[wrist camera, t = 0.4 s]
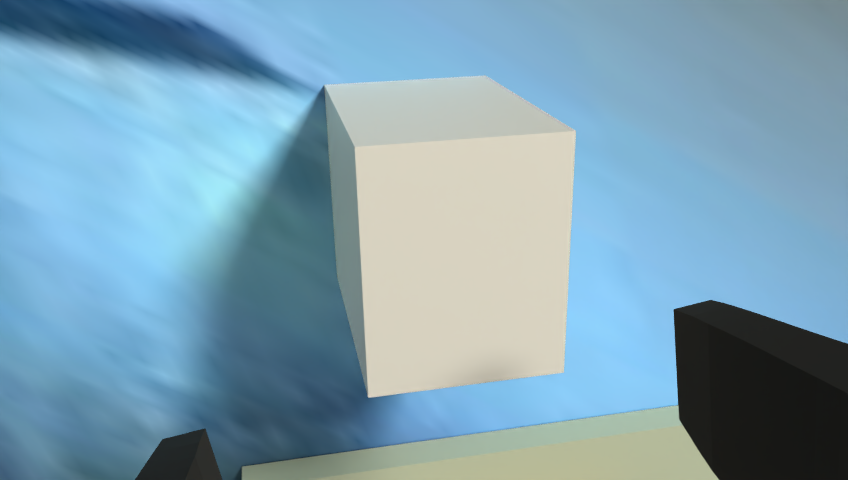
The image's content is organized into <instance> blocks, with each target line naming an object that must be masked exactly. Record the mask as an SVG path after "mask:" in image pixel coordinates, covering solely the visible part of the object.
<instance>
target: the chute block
mask: <svg viewBox="0 0 848 480" xmlns="http://www.w3.org/2000/svg"><path fill="white" fill-rule="evenodd" d="M324 89H325V104H326V119H327V134H328V149H329V164H330V180H331V195H332V210H333V225H334V240H335V255H336V270H337V278H338V282H339V286H340V290H341V294H342V298H343V301H344V305H345V309H346V313H347V317H348V321H349V325H350V329H351V333H352V336H353V340H354V344H355V348H356V352H357V356H358V360H359V364H360V368H361V371H362V375H363V379H364V383H365V387H366V391H367V395H368V398H370V397H378V396H386V395H394V394H401V393H409V392H417V391H424V390H432V389H440V388H448V387H455V386H463V385H471V384H478V383H486V382H494V381H502V380H509V379H517V378H525V377H532V376H540V375H548V374H556V373H563V372H564V357H565V337H566V317H567V297H568V277H569V257H570V237H571V217H572V197H573V177H574V157H575V138H576V131H575V130H573V129H572V128H570V127H568V126H567V125H565V124H564V123H562V122H560V121H559V120H557V119H555V118H554V117H552V116H551V115H549V114H547V113H546V112H544V111H542V110H541V109H539V108H538V107H536V106H534V105H533V104H531V103H529V102H528V101H526V100H525V99H523V98H521V97H520V96H518V95H516V94H515V93H513V92H511V91H510V90H508V89H507V88H505V87H503V86H502V85H500V84H498V83H497V82H495V81H494V80H492V79H490V78H489V77H487V76H470V77H452V78H435V79H418V80H400V81H383V82H365V83H348V84H331V85H324Z"/></svg>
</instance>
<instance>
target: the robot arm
mask: <svg viewBox="0 0 848 480" xmlns="http://www.w3.org/2000/svg"><path fill="white" fill-rule="evenodd" d="M674 326H675V346H676V366H677V387H678V407H679V420H680V422H681V423H682V425H683V426H684V428H685V430H686V431H687V433H688V434H689V436H690V438H691V439H692V441H693V443H694V444H695V446H696V447H697V449H698V451H699V452H700V454H701V455H702V457H703V458H704V460H705V461H706V463H707V464H708V466H709V467H710V469H711V470H712V472H713V473H714V474H715V475H716V476H717V478H718V479H719V480H848V344H847V343H844V342H841V341H837V340H834V339H831V338H828V337H825V336H822V335H819V334H816V333H813V332H810V331H807V330H804V329H801V328H798V327H795V326H792V325H789V324H787V323H784V322H781V321H778V320H775V319H772V318H769V317H766V316H763V315H760V314H757V313H754V312H751V311H748V310H745V309H742V308H738V307H735V306H732V305H728V304H725V303H721V302H717V301H713V300H709V301H705V302H701V303H697V304H693V305H689V306H685V307H681V308H677V309H674ZM135 480H222V478H221V475H220V472H219V469H218V466H217V462H216V459H215V456H214V453H213V450H212V447H211V444H210V441H209V438H208V435H207V432H206V429H201V430H197V431H193V432H189V433H186V434H182V435H178V436H174V437H170V438H166V439H162V441H161V442H160V444H159V445H158V447H157V448H156V449H155V451H154V452H153V454H152V455H151V457H150V458H149V460H148V461H147V463H146V464H145V466H144V467H143V469H142V470H141V472H140V473H139V475H138V476H137V478H136V479H135Z"/></svg>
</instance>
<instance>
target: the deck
mask: <svg viewBox="0 0 848 480" xmlns="http://www.w3.org/2000/svg"><path fill="white" fill-rule="evenodd" d="M242 480H719V479H718V478H717V476H716V475H715V474H714V473H713V472H712V470H711V469H710V467H709V466H708V464H707V463H706V461H705V460H704V458H703V457H702V455H701V454H700V452H699V451H698V449H697V447H696V446H695V444H694V443H693V441H692V439H691V438H690V436H689V434H688V433H687V431H686V430H685V428H684V426H683V425H682V423H681V422H680V420H679V407H678V405H676V406H669V407H662V408H655V409H648V410H641V411H633V412H626V413H619V414H612V415H605V416H598V417H591V418H584V419H577V420H570V421H562V422H555V423H548V424H541V425H534V426H527V427H520V428H513V429H506V430H499V431H491V432H484V433H477V434H470V435H463V436H456V437H449V438H442V439H435V440H428V441H420V442H413V443H406V444H399V445H392V446H385V447H378V448H371V449H364V450H357V451H349V452H342V453H335V454H328V455H321V456H314V457H307V458H300V459H293V460H286V461H279V462H271V463H264V464H257V465H250V466H243V467H242Z"/></svg>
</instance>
